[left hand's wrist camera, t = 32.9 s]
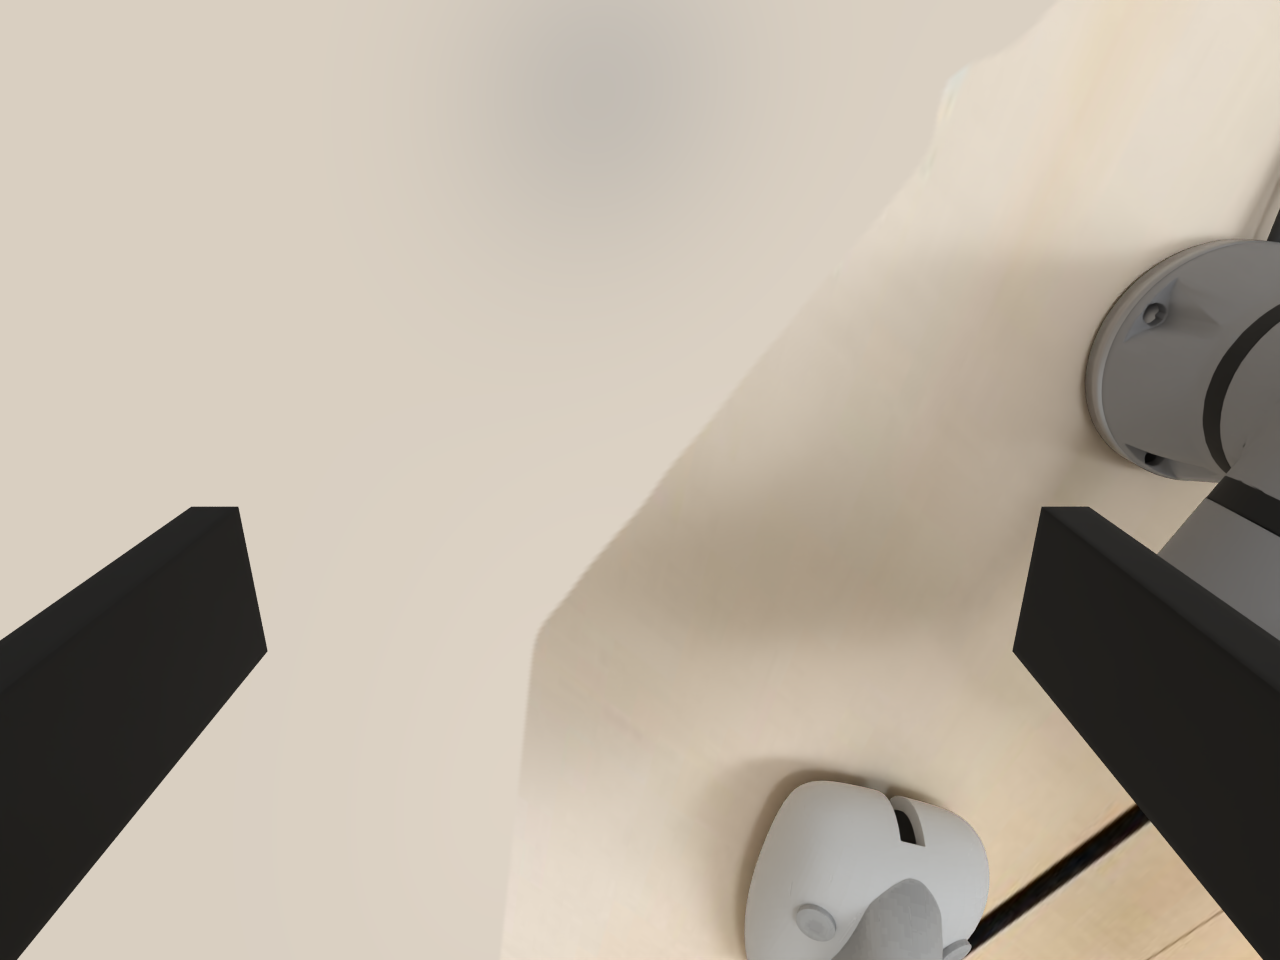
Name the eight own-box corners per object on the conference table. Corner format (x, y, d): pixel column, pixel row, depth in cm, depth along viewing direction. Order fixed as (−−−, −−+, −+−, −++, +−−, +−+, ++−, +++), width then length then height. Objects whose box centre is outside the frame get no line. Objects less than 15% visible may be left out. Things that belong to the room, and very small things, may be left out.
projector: (653, 825, 63) (657, 1000, 50) (905, 707, 59) (986, 862, 45) (777, 984, 70) (810, 1177, 56) (1011, 888, 66) (1109, 1071, 52)
